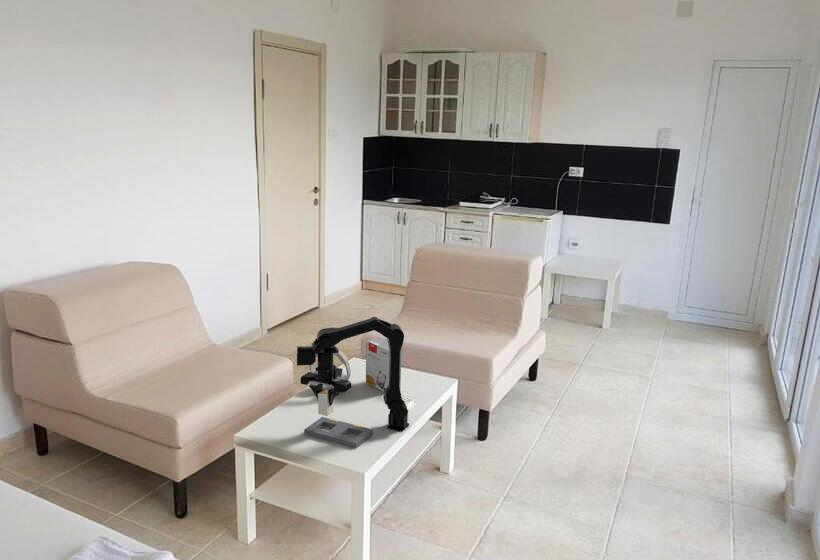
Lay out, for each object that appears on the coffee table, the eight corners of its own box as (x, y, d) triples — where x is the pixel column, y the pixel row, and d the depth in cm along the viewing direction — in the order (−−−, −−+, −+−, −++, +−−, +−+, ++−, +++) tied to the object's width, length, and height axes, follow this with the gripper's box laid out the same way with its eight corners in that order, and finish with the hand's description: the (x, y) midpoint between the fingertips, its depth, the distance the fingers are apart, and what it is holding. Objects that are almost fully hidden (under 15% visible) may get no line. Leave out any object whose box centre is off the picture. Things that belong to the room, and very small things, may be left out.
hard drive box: (364, 383, 283) (365, 340, 278) (378, 379, 288) (379, 336, 283) (387, 394, 272) (388, 349, 267) (401, 390, 277) (402, 346, 272)
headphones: (305, 391, 273) (304, 346, 268) (315, 384, 280) (315, 341, 275) (344, 399, 265) (344, 354, 261) (354, 392, 273) (354, 348, 268)
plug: (333, 412, 237) (333, 390, 235) (327, 416, 234) (327, 394, 232) (324, 409, 239) (324, 388, 237) (318, 413, 235) (318, 392, 233)
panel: (372, 434, 236) (372, 428, 236) (356, 448, 226) (356, 442, 225) (322, 421, 246) (322, 416, 245) (304, 434, 235) (304, 428, 234)
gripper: (359, 361, 235) (359, 401, 239) (316, 352, 243) (316, 391, 246) (343, 371, 225) (343, 412, 229) (299, 362, 233) (299, 402, 237)
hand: (325, 404), depth 235 cm, fingers closed on plug, 4 cm apart
